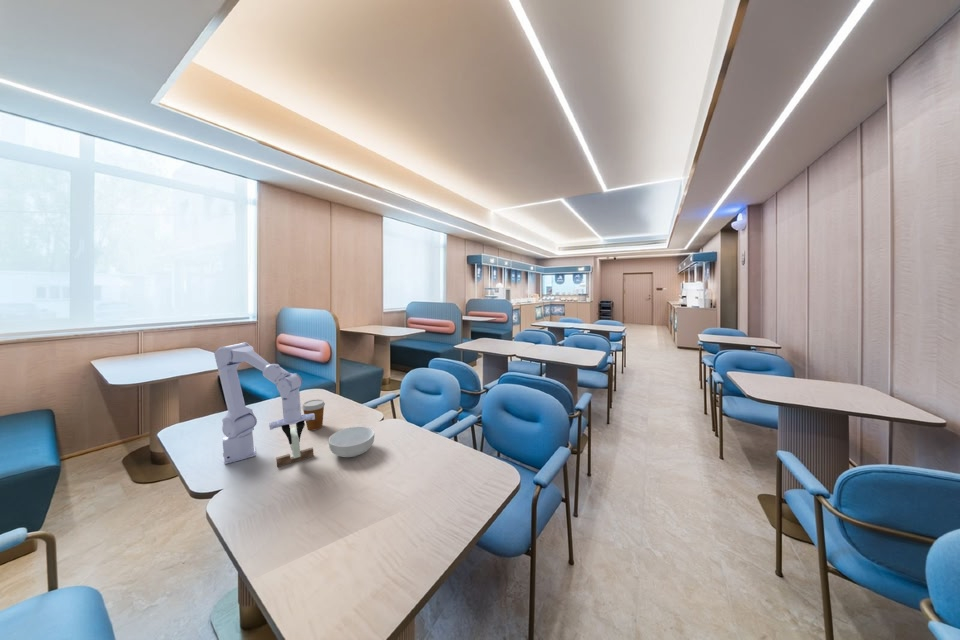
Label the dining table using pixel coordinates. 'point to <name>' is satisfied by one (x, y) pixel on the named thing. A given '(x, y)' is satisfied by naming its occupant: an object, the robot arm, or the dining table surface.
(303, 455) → the walnut slot board
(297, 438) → the sage slot plate
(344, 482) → the dining table surface
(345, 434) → the cereal bowl
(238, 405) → the robot arm
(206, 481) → the dining table surface
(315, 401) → the disposable coffee cup
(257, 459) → the dining table surface
